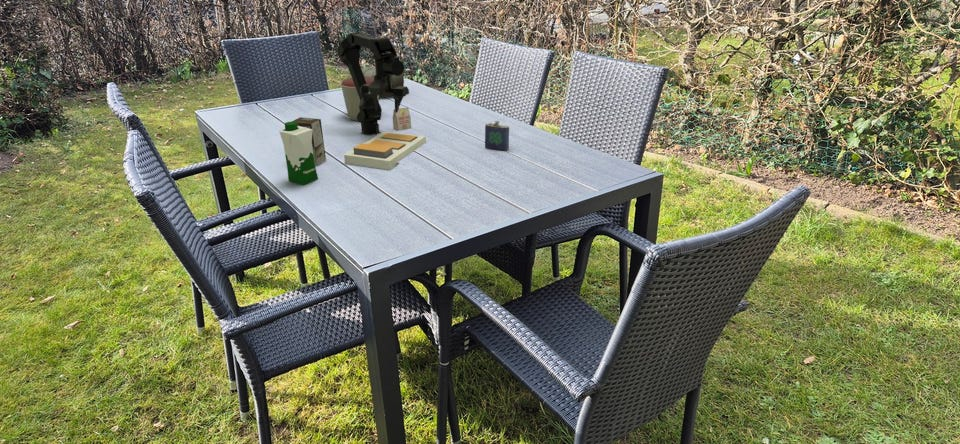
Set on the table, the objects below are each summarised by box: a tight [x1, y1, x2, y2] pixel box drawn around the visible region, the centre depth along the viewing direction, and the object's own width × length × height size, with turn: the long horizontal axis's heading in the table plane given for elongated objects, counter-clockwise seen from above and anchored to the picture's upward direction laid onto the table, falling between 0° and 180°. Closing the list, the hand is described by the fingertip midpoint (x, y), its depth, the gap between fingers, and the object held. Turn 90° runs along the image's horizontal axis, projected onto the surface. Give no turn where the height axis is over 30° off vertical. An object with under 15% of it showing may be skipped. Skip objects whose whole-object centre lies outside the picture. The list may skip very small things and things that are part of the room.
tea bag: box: [392, 106, 412, 132], centre depth 247 cm, size 4×7×10 cm, turn 124°
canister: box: [339, 76, 380, 122], centre depth 262 cm, size 18×18×21 cm
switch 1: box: [352, 142, 393, 159], centre depth 213 cm, size 13×6×3 cm, turn 69°
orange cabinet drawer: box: [381, 132, 418, 142], centre depth 231 cm, size 13×6×3 cm, turn 69°
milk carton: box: [279, 121, 319, 186], centre depth 195 cm, size 9×9×20 cm
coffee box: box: [291, 116, 327, 167], centre depth 212 cm, size 9×6×16 cm
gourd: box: [361, 66, 405, 98], centre depth 303 cm, size 25×25×17 cm
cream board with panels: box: [343, 131, 427, 171], centre depth 224 cm, size 23×30×3 cm
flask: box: [484, 120, 510, 152], centre depth 226 cm, size 10×3×12 cm, turn 68°
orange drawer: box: [369, 140, 405, 150], centre depth 223 cm, size 13×6×3 cm, turn 69°
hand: (386, 111), depth 230 cm, fingers open, 9 cm apart
